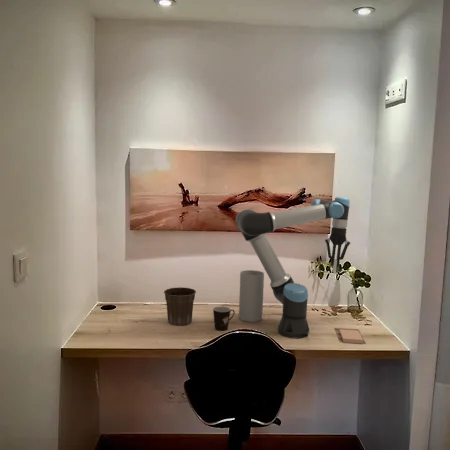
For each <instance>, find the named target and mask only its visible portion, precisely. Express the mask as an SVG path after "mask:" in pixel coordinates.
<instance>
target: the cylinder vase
mask: <svg viewBox="0 0 450 450" xmlns="http://www.w3.org/2000/svg"><path fill="white" fill-rule="evenodd" d="M264 281H265V272H263V271H260V270H251V269H249V270H240V273H239V296H238V297H239V303H238V318H239V319H240V321H242V322H247V323H257V322H260V321H262V320H263V309H264V306H263V305H264V287H265V286H264V285H265V282H264Z"/></svg>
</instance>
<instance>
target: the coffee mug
mask: <svg viewBox="0 0 450 450" xmlns="http://www.w3.org/2000/svg"><path fill="white" fill-rule="evenodd" d="M212 309H213V310H212V311H213V321H214V322H213V324H214V330H215V331H217V332H219V331H220V332H224V331H225V332H226V331H228V329H229V322H230V321H231V320H232V319H233V318H234V316H235V313H236V312H235V310H234V309H231V308H230V307H227V306H216V307H214V308H212ZM232 311H233V312H232ZM231 312H232V316H231Z"/></svg>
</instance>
